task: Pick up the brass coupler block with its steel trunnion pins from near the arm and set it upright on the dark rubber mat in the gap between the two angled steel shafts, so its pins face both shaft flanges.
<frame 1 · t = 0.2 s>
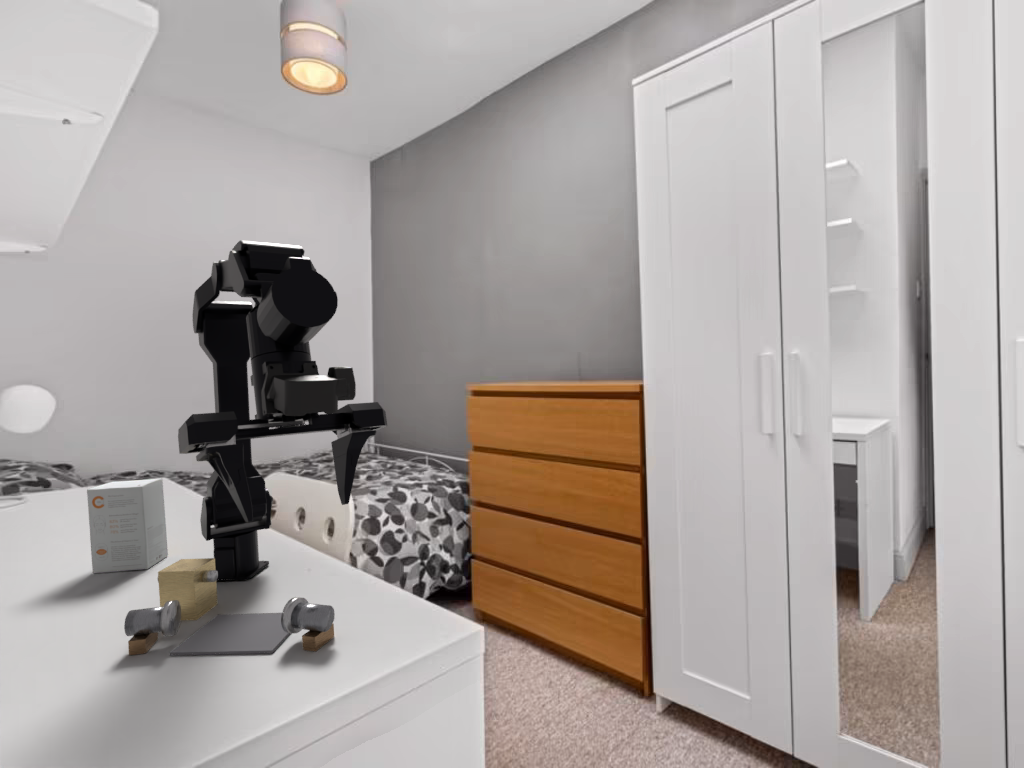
hand: (300, 512, 54), 15 cm above the table, tool pointing down, fingers open, 9 cm apart
small box: (131, 566, 87), on the table
coupler: (190, 612, 69), on the table
shaft A: (309, 621, 59), on the table
shaft B: (153, 624, 60), on the table
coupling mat: (243, 633, 62), on the table
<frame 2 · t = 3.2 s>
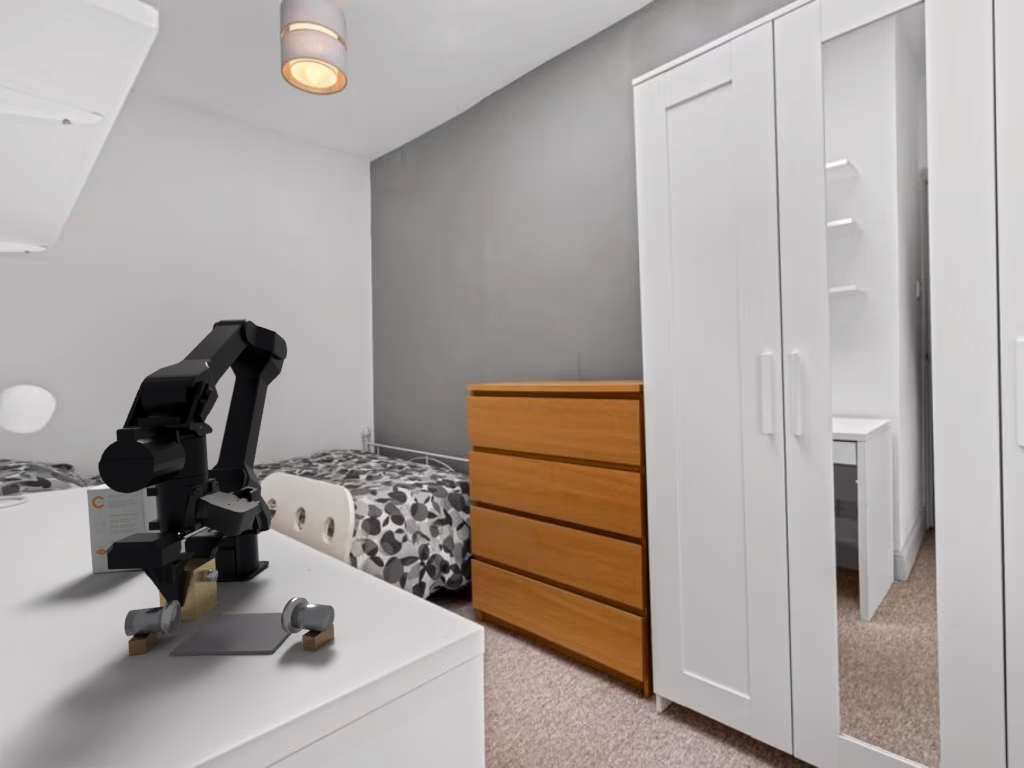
hand: (189, 599, 68), 2 cm above the table, tool pointing down, fingers closed on coupler, 4 cm apart
coupler: (190, 612, 69), on the table, touching gripper
everything else where it was.
when the fingers open (3 cm above the table, at t = 7.2 s): coupler drops 1 cm, resting on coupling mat.
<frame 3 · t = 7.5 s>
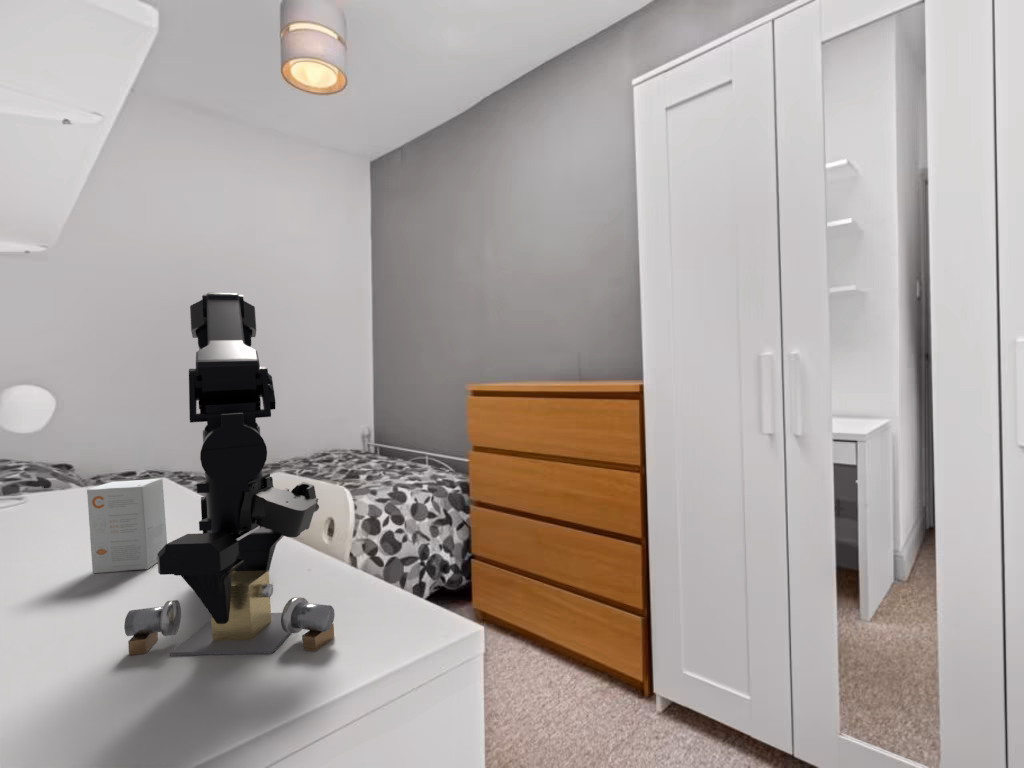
hand: (241, 607, 62), 3 cm above the table, tool pointing down, fingers open, 7 cm apart
coupler: (242, 630, 62), resting on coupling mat
everything else where it was.
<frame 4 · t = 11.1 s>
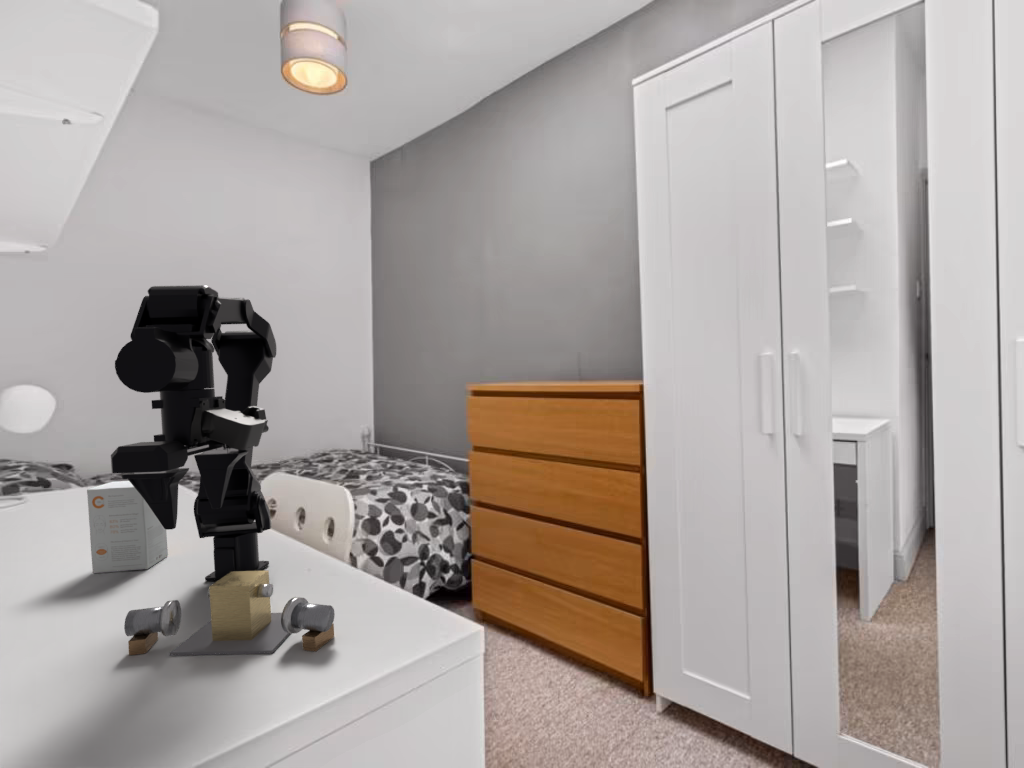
hand: (195, 518, 67), 12 cm above the table, tool pointing down, fingers open, 9 cm apart
nothing on the table moved.
at the end: coupler 0.1 cm from the target spot, resting on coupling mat; coupler tilted 0°; the gripper is holding nothing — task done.
